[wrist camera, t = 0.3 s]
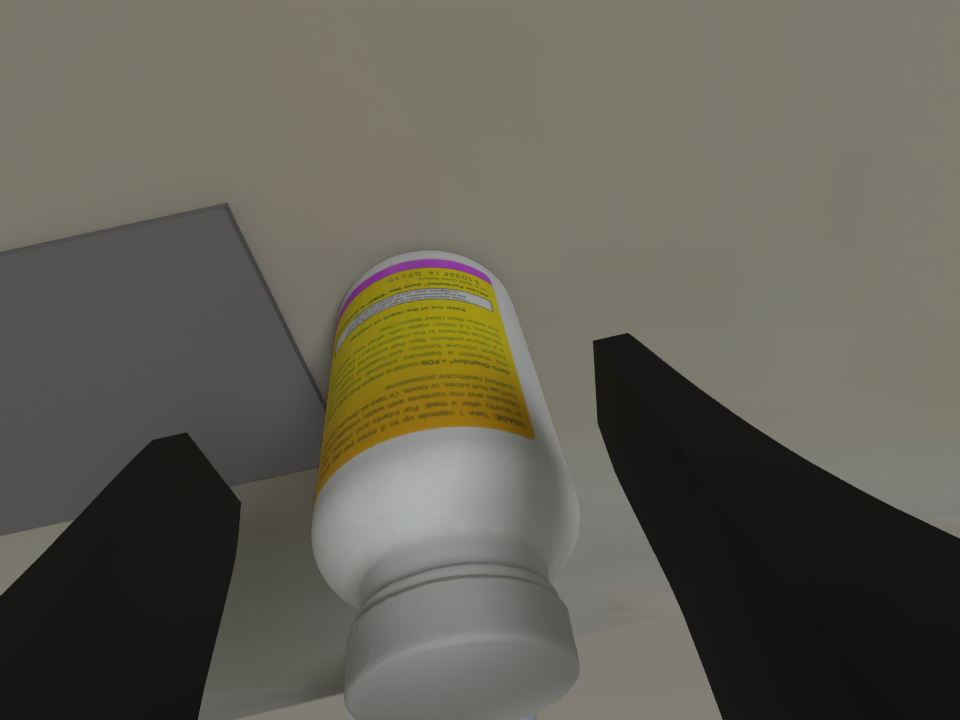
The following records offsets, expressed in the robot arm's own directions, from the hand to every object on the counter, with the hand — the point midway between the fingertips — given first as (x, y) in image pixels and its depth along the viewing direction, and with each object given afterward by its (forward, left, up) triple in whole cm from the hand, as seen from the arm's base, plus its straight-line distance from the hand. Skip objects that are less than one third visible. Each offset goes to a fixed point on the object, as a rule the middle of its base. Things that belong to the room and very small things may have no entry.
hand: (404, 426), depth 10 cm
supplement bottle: (-5, 0, -10) cm, 11 cm away
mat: (-5, +14, -10) cm, 18 cm away
